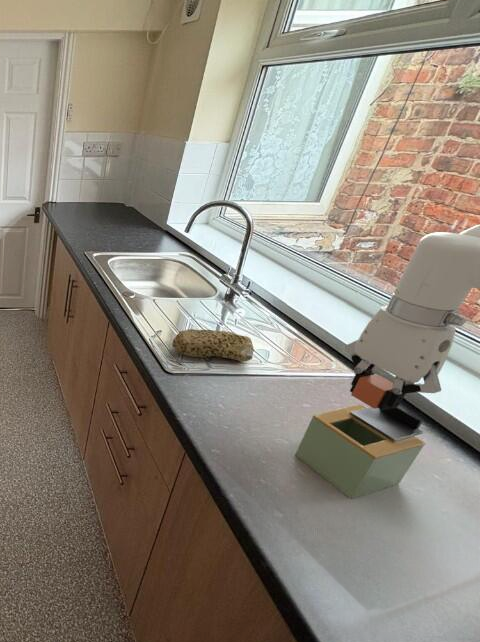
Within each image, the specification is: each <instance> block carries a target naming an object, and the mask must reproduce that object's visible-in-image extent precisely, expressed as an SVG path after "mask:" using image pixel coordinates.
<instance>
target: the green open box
mask: <svg viewBox="0 0 480 642" xmlns="http://www.w3.org/2000/svg"><path fill="white" fill-rule="evenodd" d="M364 408H367V407H365V406H364V405H363V404H360V403H358V404H354V405H353V404H352V405H349V406H346V407H341V408H337V409H333V410H328V411H325V412H320V413H317V414H313V415H312V417H311V419H310V422H309V424H308V426H307V428H306V430H305V432H304V434H303V437H302V439H301V441H300V443H299V445H298V447H297V449H296V451H295V456H296V457H297V458H299V459H300V460H301V461H302V462H304V463H305V464H306V465H308V466H309V467H310V468H312V470H314V471H315V472H317V473H318V474H319V475H320V476H321V477H322V478H324V479H326V481H328V482H329V483H330V484H332V486H334V487H336V489H337V490H339V491H340V492H342V493H343V494H345V496H347V497H348V498H349V499H351V500H352V499H355V498H358V497H361V496H365V495H368V494H372V493H376V492H378V491H381V490H384V489H388V488H390V487H394V486H398V485H399V484H400V483H401V481H402V480H403V479H404V477H405V475H406V474H407V472H408V471H409V470H410V468H411V466H412V464H414V461H415V460H416V459H417V457H418V455H419V454H420V452H421V451H422V449H423V448H424V446H425V445H426V442H425V441H423V440H421V439H419V438H418V437H416V436H412V437H409V438H405V439H401V440H398V441H392V440H390V439H389V438H387V437H386V436H384V435H382V434H381V433H379V432H378V431H376V430H374V429H373V428H371V427H370V426H368V425H366V424H365V423H363V422H362V421H360V420H358V419H357V418H355V417H354V416H352V415H350V414H349V413H350V412H352V411H356V410H360V409H364Z"/></svg>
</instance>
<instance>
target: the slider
mask: <svg viewBox="0 0 480 642" xmlns="http://www.w3.org/2000/svg"><path fill="white" fill-rule="evenodd" d="M349 414H350V415H352V416H354V417H355V418H357V419H358V420H360V421H362V422H363V423H365V424H366V425H368V426H370V427H371V428H373V429H374V430H376V431H378V432H379V433H381V434H382V435H384V436H386V437H387V438H389V439H390V440H392V441H398V440H401V439H405V438H409V437H412V436H414V437H416V436H419V435H423V434H424V431H423V430H421V429H420V427H421V425H422V424H423V422H424V420H423V419H422V418H420V417H418V416H416V415H414V414H413V413H411V412H410V411H407V410H405V409H404V408H402V407H401V406H398V407H396V408H390V409H386V410H381V409H379V408H377V409H374V408H372V407H370V406H368V407H366V408H364V409H360V410H356V411H352V412H350V413H349Z"/></svg>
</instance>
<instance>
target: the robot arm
mask: <svg viewBox="0 0 480 642" xmlns="http://www.w3.org/2000/svg"><path fill="white" fill-rule="evenodd" d="M472 289H480V224H476V225H475V226H472V227H470V228H468V229H466V230H465V229H464V230H463V231H461V232H460V233H458V232H457V233H455V232H444V231H443V232H442V231H440V232H431V233H428V234H426V235H424V236H423V237H421V238H420V240H419V241H418V243H417V244H416V247H415V249H414V251H413V253H412V255H411V257H410V259H409V261H408V263H407V265H406V267H405V269H404V271H403V273H402V276H401V277H400V279H399V281H398V283H397V284H396V287H395V289H394V290H393V293H392V294H391V297H390V299H389V301H388V303H387V305H384V306H381V308H380V309H378V310H377V312H376V313H375V314H374V315H373V316H372V317H371V319H370V321H368V323H367V325H366V326H365V327H364V329H363V331H362V332H361V333H360V335H359V337H358V339H357V340H354V341H352V342H350V343H348V344H346V345H344V350H345V351H346V352H347V353H348V355H349V356H350V357H351V361H352V363H353V365H354V366H355V367H354V369H353V371H354V372H355V375H354V377H353V378H352V381H351V383H350V384H351V387H350V389H349V392H350V393H352V392H353V390H354V388H355V386H356V384H357V382H358V380H359V378H360V377H365V376H369V375H374V374H375V372H373V370H375V368H376V367H378V368H379V369H381V370H384V371H385V372H387V373H389V374H391V375H393V376H395V377H394V381H393V383H394V384H393V388H392V390H388V391H387V392H386V393H385V395H384V397H383V399H382V400H381V402H380V404H379V406H378V407H379V409H381V410H386V409H390V408H396V407H400V404H401V403H402V401H403V400H404V397H405V396H406V395H407V394H415V393H422V394H423V393H424V394H437V393H440V392H441V391H442V386H441V383H440V379H439V374H440V372H441V370H442V369H443V367H444V365H445V362H446V361H447V358H448V356H449V353H450V351H451V348H452V346H453V343H454V338H455V336H456V329H457V328H456V327H455V326H457V327H462V326H463V325H465V323H466V322H467V319H466V318H464V317H461V315H459V314H460V312H461V309H460V308H461V307H462V305H463V303H464V302H465V300H466V299H467V296H468V295H469V294H470V291H471V290H472ZM422 378H423V382H424V383H418V382H420V381H421V380H422Z"/></svg>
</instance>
